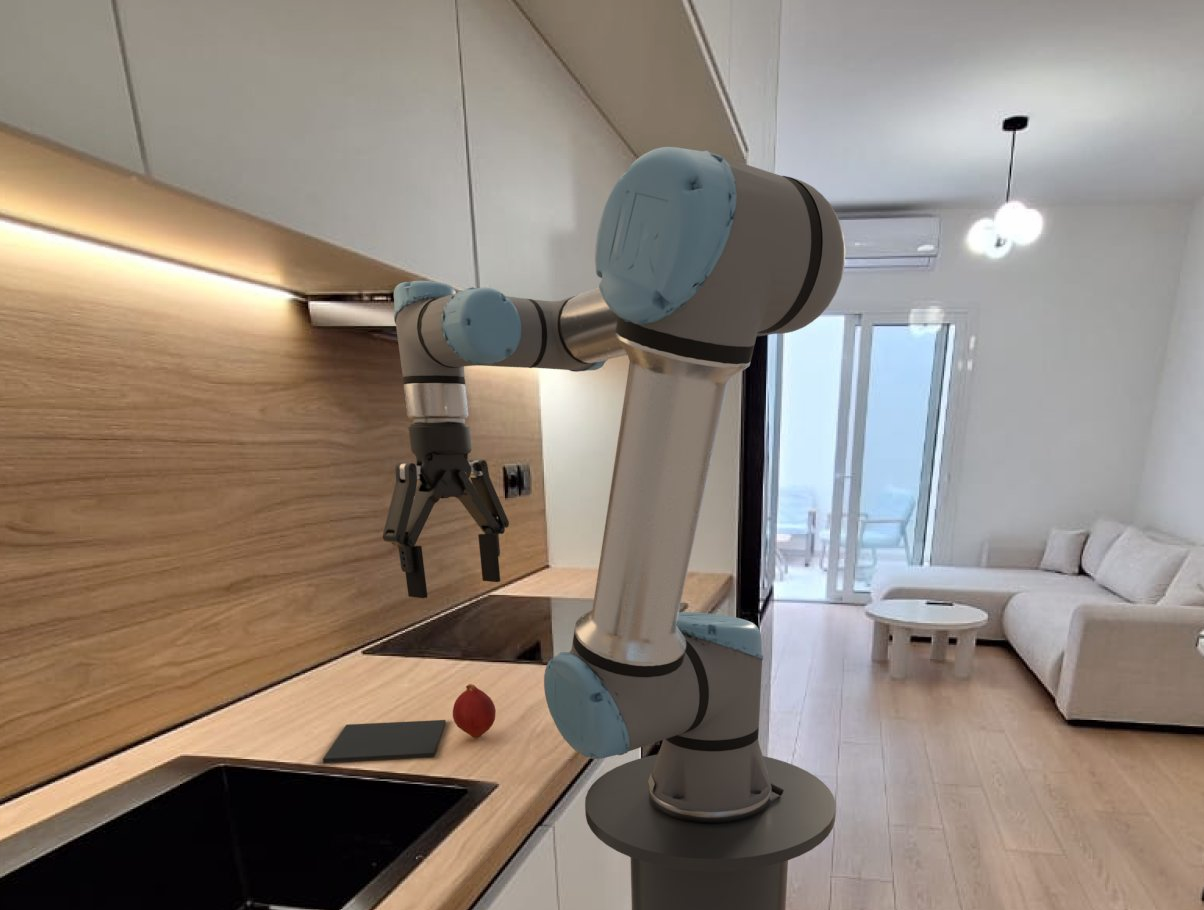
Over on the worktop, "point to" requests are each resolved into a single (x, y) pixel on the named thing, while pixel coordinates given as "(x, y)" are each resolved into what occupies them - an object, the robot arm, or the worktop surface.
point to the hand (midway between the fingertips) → (456, 588)
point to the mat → (386, 741)
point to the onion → (474, 711)
